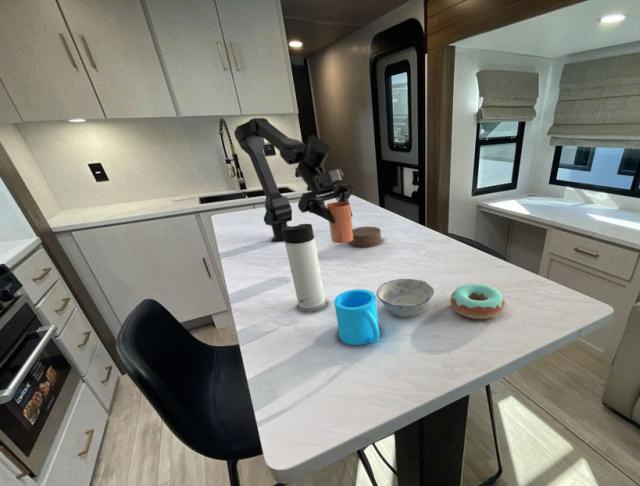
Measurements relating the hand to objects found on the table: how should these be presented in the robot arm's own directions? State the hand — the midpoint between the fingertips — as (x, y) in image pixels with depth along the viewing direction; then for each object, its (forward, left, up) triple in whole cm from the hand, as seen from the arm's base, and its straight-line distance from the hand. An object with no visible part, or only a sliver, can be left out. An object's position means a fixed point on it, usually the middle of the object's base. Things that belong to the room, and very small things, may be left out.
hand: (343, 219), depth 97 cm
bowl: (+35, +14, -13) cm, 39 cm away
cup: (-1, -1, -7) cm, 7 cm away
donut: (+38, +30, -13) cm, 50 cm away
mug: (+45, +4, -13) cm, 47 cm away
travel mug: (+30, -8, -13) cm, 33 cm away
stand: (-14, +6, -12) cm, 20 cm away
